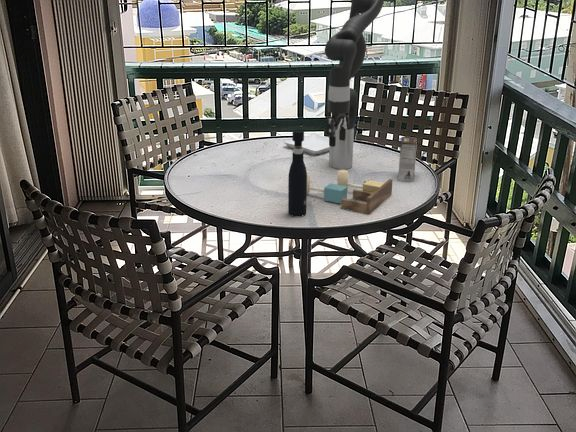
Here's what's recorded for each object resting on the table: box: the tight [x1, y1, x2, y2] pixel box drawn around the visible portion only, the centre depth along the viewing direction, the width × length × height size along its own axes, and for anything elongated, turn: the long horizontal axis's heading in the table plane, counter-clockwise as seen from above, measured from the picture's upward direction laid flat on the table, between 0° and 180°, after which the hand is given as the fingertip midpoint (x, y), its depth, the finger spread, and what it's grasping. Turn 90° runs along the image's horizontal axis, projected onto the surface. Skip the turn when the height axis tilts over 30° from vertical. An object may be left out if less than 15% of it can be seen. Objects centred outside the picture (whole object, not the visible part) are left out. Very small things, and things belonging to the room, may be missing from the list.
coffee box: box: [397, 136, 418, 182], centre depth 252 cm, size 9×6×16 cm
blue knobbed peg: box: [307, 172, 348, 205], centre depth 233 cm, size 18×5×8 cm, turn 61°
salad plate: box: [283, 133, 330, 155], centre depth 292 cm, size 21×21×3 cm
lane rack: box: [340, 178, 393, 215], centre depth 231 cm, size 11×22×6 cm, turn 151°
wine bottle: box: [287, 129, 308, 217], centre depth 215 cm, size 6×6×30 cm
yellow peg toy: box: [336, 169, 385, 193], centre depth 237 cm, size 18×5×8 cm, turn 61°
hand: (337, 143), depth 223 cm, fingers open, 8 cm apart
